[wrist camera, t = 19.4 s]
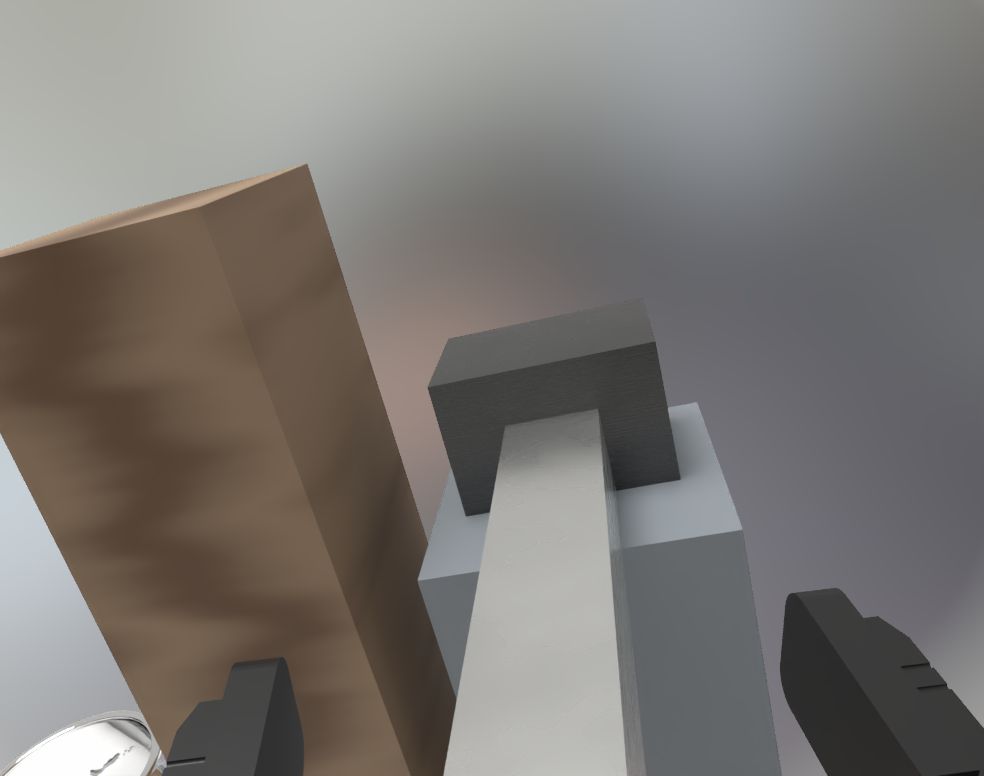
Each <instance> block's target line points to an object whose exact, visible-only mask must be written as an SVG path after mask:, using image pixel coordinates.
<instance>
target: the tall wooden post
mask: <svg viewBox="0 0 984 776" xmlns="http://www.w3.org/2000/svg"><path fill="white" fill-rule="evenodd" d="M0 433H1V435H2V437H3V439H4V441H5V443H6V445H7V447H8V449H9V451H10V453H11V455H12V457H13V459H14V461H15V463H16V465H17V467H18V469H19V471H20V473H21V475H22V477H23V479H24V481H25V483H26V485H27V487H28V489H29V491H30V493H31V495H32V496H33V498H34V500H35V502H36V504H37V506H38V508H39V510H40V512H41V514H42V516H43V518H44V520H45V522H46V524H47V526H48V528H49V530H50V532H51V534H52V536H53V538H54V540H55V542H56V544H57V546H58V548H59V550H60V552H61V554H62V556H63V558H64V560H65V562H66V564H67V566H68V567H69V570H70V572H71V574H72V576H73V578H74V580H75V582H76V584H77V585H78V587H79V589H80V591H81V593H82V595H83V597H84V599H85V601H86V603H87V605H88V607H89V609H90V611H91V613H92V615H93V617H94V619H95V621H96V623H97V625H98V627H99V629H100V631H101V633H102V635H103V637H104V639H105V641H106V643H107V645H108V647H109V649H110V651H111V652H112V654H113V657H114V659H115V660H116V663H117V665H118V667H119V668H120V670H121V672H122V674H123V676H124V678H125V680H126V682H127V684H128V686H129V688H130V690H131V692H132V694H133V696H134V698H135V700H136V702H137V704H138V706H139V708H140V710H141V712H142V714H143V716H144V718H145V720H146V722H147V724H148V726H149V728H150V730H151V732H152V734H153V736H154V738H155V740H156V742H157V744H158V746H159V748H160V750H161V752H162V754H163V755H164V757H165V759H166V761H167V758H168V755H169V752H170V749H171V746H172V743H173V740H174V737H175V734H176V731H177V730H178V728H179V727H180V726H181V725H182V723H183V722H184V721H185V720H186V718H187V717H188V716H189V715H190V714H191V712H192V711H193V710H194V709H195V707H196V706H197V705H198V704H199V702H204V701H212V700H220V699H222V698H223V695H224V691H225V688H226V684H227V681H228V677H229V674H230V671H231V668H232V666H233V664H234V663H236V662H243V661H251V660H260V659H268V658H276V657H284V658H285V660H286V662H287V665H288V669H289V674H290V678H291V682H292V687H293V691H294V695H295V700H296V704H297V709H298V713H299V717H300V722H301V726H302V731H303V739H304V771H303V776H443V775H444V770H445V764H446V758H447V753H448V747H449V741H450V736H451V730H452V724H453V719H454V713H455V707H456V702H457V699H456V696H455V693H454V690H453V687H452V684H451V681H450V678H449V675H448V672H447V669H446V666H445V663H444V660H443V657H442V654H441V651H440V648H439V645H438V642H437V639H436V636H435V633H434V630H433V627H432V623H431V620H430V617H429V614H428V611H427V608H426V605H425V602H424V599H423V596H422V593H421V590H420V587H419V584H418V577H419V574H420V571H421V567H422V564H423V560H424V557H425V554H426V550H427V547H428V541H427V538H426V535H425V532H424V529H423V526H422V522H421V519H420V516H419V513H418V510H417V507H416V504H415V500H414V497H413V494H412V491H411V488H410V485H409V481H408V478H407V475H406V472H405V469H404V466H403V463H402V459H401V456H400V453H399V450H398V447H397V444H396V441H395V437H394V434H393V431H392V428H391V425H390V422H389V419H388V415H387V412H386V409H385V406H384V403H383V400H382V397H381V394H380V390H379V388H378V384H377V381H376V378H375V375H374V372H373V369H372V365H371V362H370V359H369V356H368V353H367V350H366V346H365V343H364V340H363V337H362V334H361V331H360V328H359V324H358V321H357V318H356V315H355V312H354V309H353V306H352V302H351V299H350V296H349V293H348V290H347V287H346V284H345V281H344V277H343V274H342V271H341V268H340V265H339V262H338V259H337V256H336V252H335V249H334V246H333V243H332V240H331V237H330V233H329V230H328V227H327V224H326V221H325V218H324V215H323V211H322V208H321V205H320V203H319V199H318V196H317V193H316V190H315V186H314V183H313V180H312V177H311V174H310V171H309V168H308V165H307V164H304V165H300V166H296V167H292V168H288V169H284V170H281V171H277V172H273V173H269V174H265V175H261V176H257V177H254V178H249V179H245V180H242V181H238V182H234V183H230V184H227V185H222V186H218V187H214V188H210V189H207V190H203V191H199V192H195V193H191V194H187V195H184V196H179V197H176V198H172V199H168V200H164V201H160V202H156V203H152V204H149V205H144V206H141V207H137V208H133V209H129V210H125V211H121V212H117V213H114V214H109V215H106V216H102V217H99V218H95V219H92V220H90V221H87V222H84V223H81V224H78V225H75V226H72V227H69V228H66V229H63V230H60V231H57V232H54V233H51V234H49V235H45V236H42V237H39V238H36V239H33V240H31V241H28V242H25V243H22V244H19V245H16V246H13V247H10V248H7V249H4V250H1V251H0Z"/></svg>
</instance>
